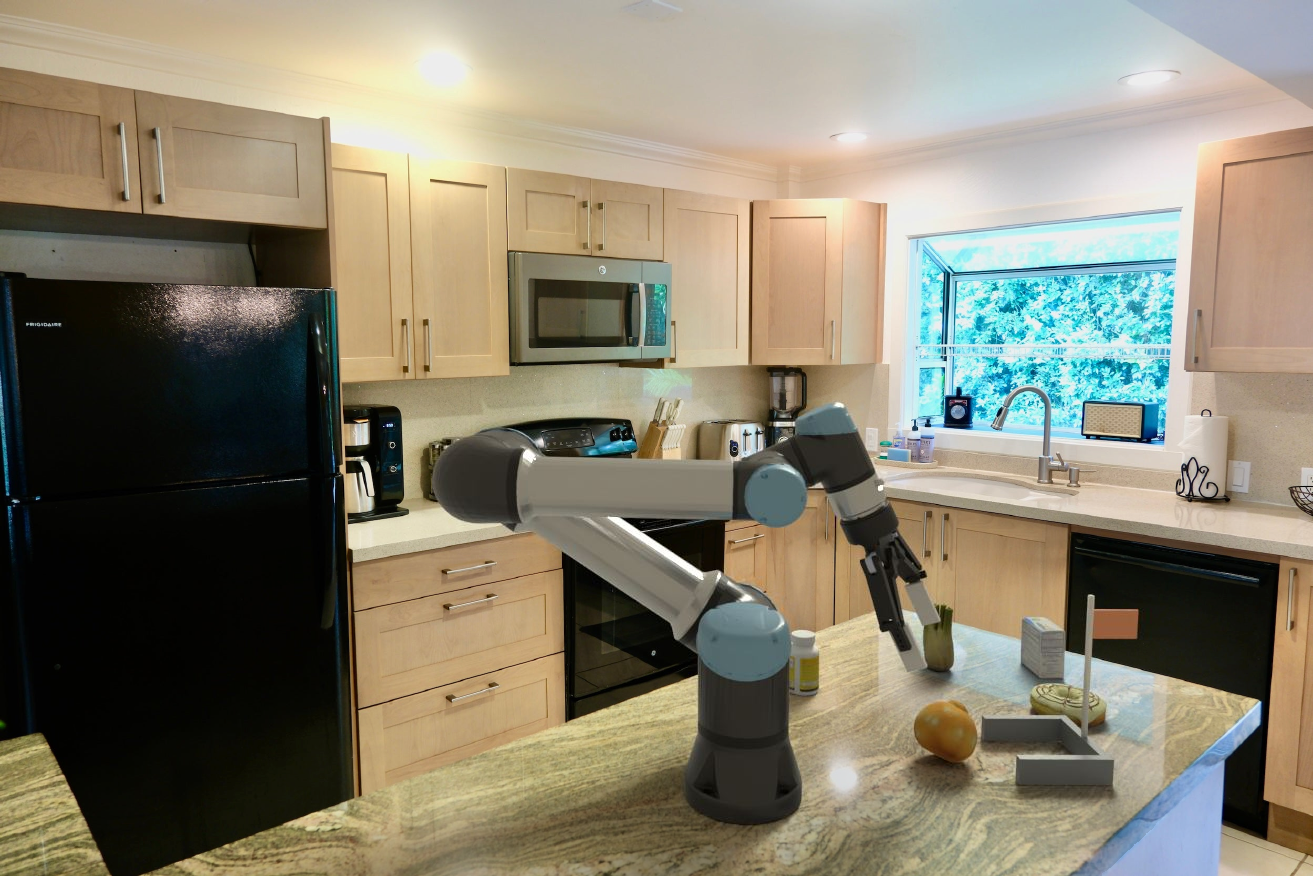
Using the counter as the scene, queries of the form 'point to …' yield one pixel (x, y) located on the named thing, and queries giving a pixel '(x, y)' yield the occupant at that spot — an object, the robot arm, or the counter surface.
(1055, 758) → the flagpole corner frame
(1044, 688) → the decorated donut
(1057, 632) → the medicine box
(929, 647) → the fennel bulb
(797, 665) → the supplement bottle
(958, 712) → the fruit
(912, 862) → the counter surface
